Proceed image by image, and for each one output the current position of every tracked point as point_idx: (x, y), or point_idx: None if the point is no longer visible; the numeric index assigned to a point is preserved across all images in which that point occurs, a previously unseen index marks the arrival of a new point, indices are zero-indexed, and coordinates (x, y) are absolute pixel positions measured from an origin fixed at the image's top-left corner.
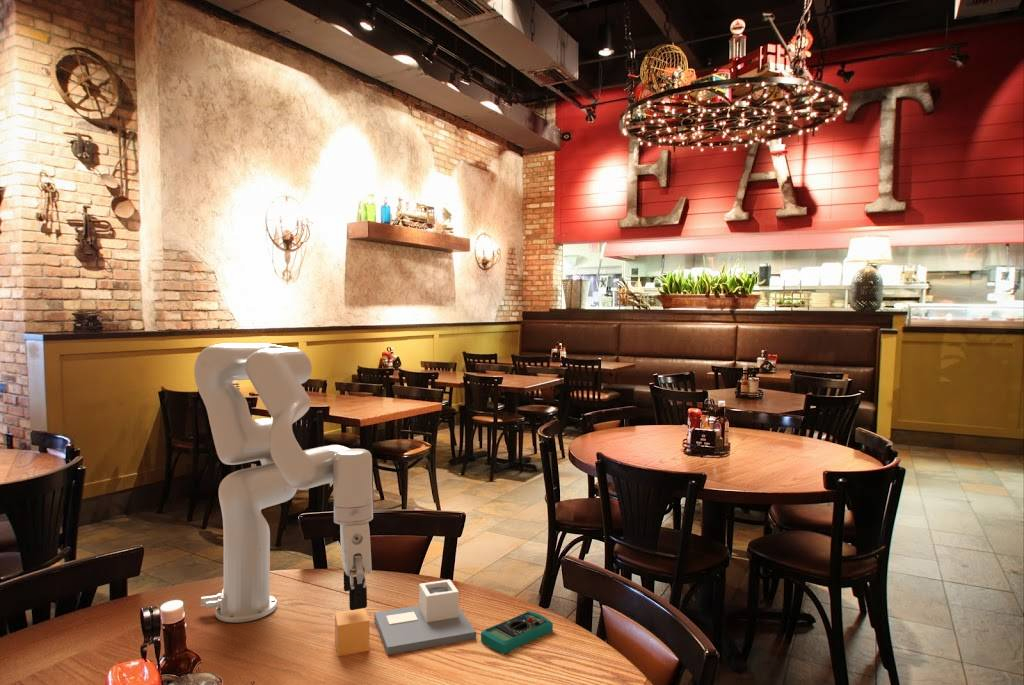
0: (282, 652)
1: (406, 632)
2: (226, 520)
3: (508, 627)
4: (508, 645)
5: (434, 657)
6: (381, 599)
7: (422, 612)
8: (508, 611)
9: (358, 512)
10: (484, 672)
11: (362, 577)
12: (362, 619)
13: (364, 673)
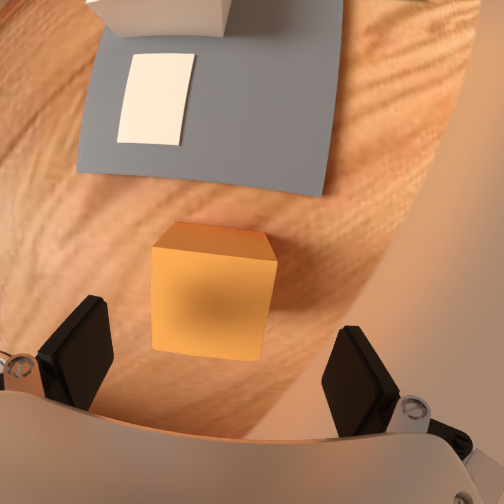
0: (181, 395)
1: (259, 111)
2: None
3: None
4: None
5: (379, 96)
6: (5, 136)
7: (164, 32)
8: None
9: None
10: (456, 60)
11: (484, 457)
12: (254, 283)
13: (361, 271)
